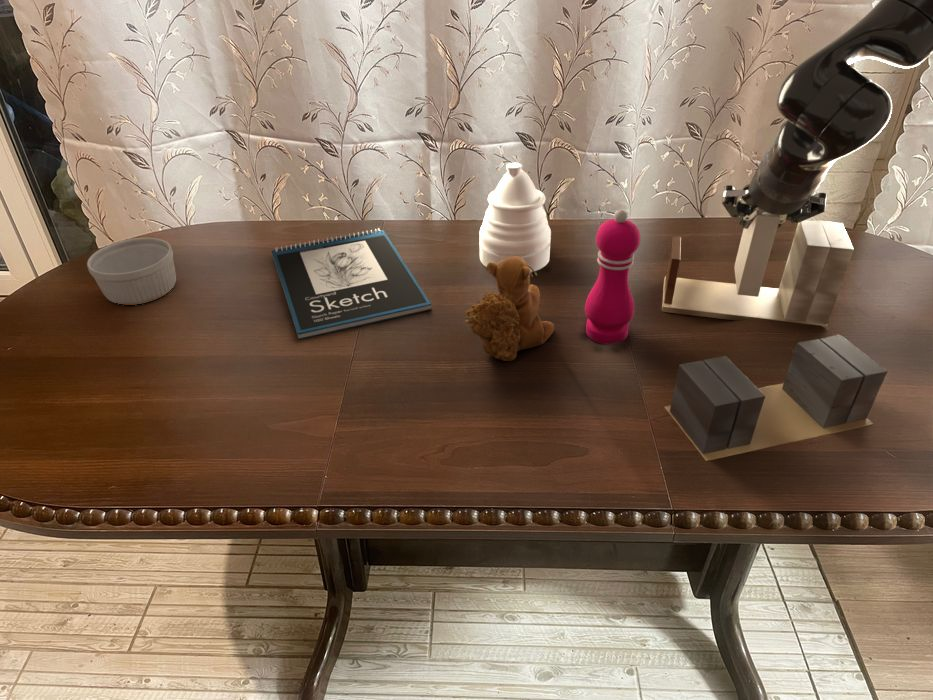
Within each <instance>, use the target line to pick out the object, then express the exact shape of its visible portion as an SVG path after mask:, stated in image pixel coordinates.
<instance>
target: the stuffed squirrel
mask: <svg viewBox="0 0 933 700" xmlns="http://www.w3.org/2000/svg"><path fill="white" fill-rule="evenodd" d="M531 269H532V268H531V267H530V266H528V265H527V264H526V262H525V261H524V260H523V259H522V258H521V257H518V256H512V257H509V258H506V259H504V260H501V261H500V262H499V263H498V264H494V263H492V262H489V263H488V264H487V266H486V270H487V271H488V272H489V273H490V274H491V275H492V276H493V277H494V278H495V280H496V288H497V293H494V292H492V293H486V294H484V295H483V296H484V297H481V300H478V301H477V303H475V304H472V305H471V307H470V308H469V309H468V310H466V311H464V313H465V314H464V315H465V316H466V317H465V319H467V320H464V323H466V324H468V325H469V327H470V330H471V331H472V333H473V334H475V335H477V336H478V337H479V338H480V340H482V348H483V351H484V353H485V354H486V355H487V356H489V357H492V358H494V359H496V360H501V361H502V362H506V361H507V362H512V361H514V360H515V359H516V358H517V356H518V354H517V353H518V352H519V351H522V350H527V349H532V348H535V347H538V346H541V345H543V344H545V342H546V341H547V340H548V339H550V337H551V336H552V334H553V333H554V330H555V324H554V323H553V322H551V321H548V320H545V321H542V320H541V318H540V315H538V312H539V304H540V297H541V293H540V290H539V287H538V286H537V285H535V284H531V278H533V277H534V275H535V276H538V274H537V271H534V270H533V269H532V270H533V272H531ZM533 273H534V275H533Z"/></svg>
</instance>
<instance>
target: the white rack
mask: <svg viewBox="0 0 933 700" xmlns="http://www.w3.org/2000/svg"><path fill="white" fill-rule="evenodd" d="M681 241H682V236H677V235H676V236H675V235H673V236H672V240H671V247H670V252H669V257H668V263H667V269H666V274H665V276H664V278H663V283H662V285H663V287H662V299H661V300H662V301H661V312H662V313H670V314H678V315H687V316H695V317H704V318H711V319H719V320H728V321H735V322H739V321H744V320H751V319H763V320H770V321H778V322H779V321H780V322H787V323H788V322H789V323H796V324H803V325H811V326H812V325H814V326H821V327H823V328H824V329H825V330H827V329H828V328H829V327H828V323H829V320H830V318H831V315H832V312H833V310H834V306H835V304H836V301H837V298H838V295H839V292H840V290H841V287H842V284H843V281H844V279H845V276H846V274H847V270H848V268H849V264H850V262H851V259H852V256H853V254H854V251H855V249H854V246H853V244H852V242H851V239H850V237H849V235H848V232H847V231H846V229H845V226H844V223H843V222H839V221H827V220H815V219H806V220H804V221H802V222H799V223H797V226H796V229H795V232H794V236H793V239H792V243H791V246H790V250H789V253H788V257H787V260H786V263H785V266H784V269H783V272H782V273H783V274H782V277H781V280H780V283H779V286H778V288H777V287H774V288H773V287H766V286H761V288H760V292H759V296H758V297H755V296H746V295H738V294H737V287H736V283H731V282H730V283H729V282H721V281H720V282H719V281H713V280H712V281H711V280H702V279H693V278H685V277H678V273H679V267H680V263H681V251H682V250H681V248H682V247H681V245H682V242H681Z"/></svg>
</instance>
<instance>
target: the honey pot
mask: <svg viewBox="0 0 933 700" xmlns="http://www.w3.org/2000/svg"><path fill="white" fill-rule="evenodd" d="M505 168H506V173H505V174H504V175H503V176H502V178H501V179H500V181H499V182H498V184H497V186H496V188H495V189H494V190H492V191H491V192H490V193H489V194H488V197H487V202H488V204H489V205H488V207H487V209H486V210H485V213H484V218H483V221H482V225H481V226H480V229H479V241H478V243H479V248H478V249H479V260H480V263H481V264H482V265H483V266H484V267H486V266H487V264H488V263H489V262H492V263H494V264H498V263H499V262H500V261H501V260H504V259H506V258H509V257H512V256H518V257H521V258H522V259H523V260H524V261H525V262H526V264H527V265H528V266H530V267H531V268H532V269H533V270H534V271H535V272H538V271H539V270H541V269H543V268H544V267H546V266H547V265H548V264H549V262H550V257H551V239H552V237H551V236H552V231H551V228H550V225H549V221H548V219H547V213H546V211H545V209H544V207H543V205H544V204H545V203H546V199H547V198H546V196H545V193H544V192H542V191H541V190H539V189H537V188H536V186H535V184H534V182H533V180H532V178H531V177H530V176H529V175H528V173H527V172H526V171H525V170H523V169H522V168H523V164H521V163H520V162H515V161H514V162H507V163H506V164H505ZM486 268H487V267H486ZM532 269H531V272H532V273H534V272H533V270H532Z"/></svg>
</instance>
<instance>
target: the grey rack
mask: <svg viewBox="0 0 933 700" xmlns="http://www.w3.org/2000/svg"><path fill="white" fill-rule="evenodd" d="M795 345H796V346H795V349H794V351H793V355H792V357H791V361H790V364H789V367H788V369H787V372H786V375H785V378H784V381H783V383H777V384H773V385H767V386H762V387H757V386H756V385H755V384H754V383H753V382H752V381H751V380H750V379H749V377H747V376H746V375H745V374H744V373H743V372H742V371H741V370H740V368H738V366H737V365H736V364H734V362H733V361H731V360H730V358H728V356H726V355H724V356H718V357H712V358H707V359H704V360H696V361H692V362H686V363H681V364H679V366H678V370H677V374H676V379H675V384H674V389H673V394H672V398H671V404H670V405H667V406H664V409H665V411H667V413H668V414H669V416H670V417H671V418H672V419H673V420H674V422H675V423H676V424H677V425H678V427H679V428H680V429H681V431H682V432H683V433H684V435H685V436H686V437H687V438H688V440H689V442H691V444H692V445H693V447H694V448H695V449H696V450H697V451H698V453H699V454H700V456H702V458H703V459H704V460H705V461H706V462H708V461H713V460H717V459H723V458H727V457H730V456H735V455H740V454H745V453H748V452H754V451H757V450H759V451H760V450H764V449H768V448H772V447H776V446H780V445H785V444H790V443H791V444H792V443H795V442H799V441H800V442H801V441H804V440H808V439H813V438H817V437H823V436H826V435H832V434H835V433H840V432H845V431H850V430H853V429H859V428H862V427H863V428H864V427H869V426H872V425H874V423H873V422H872V421H871V420H870V419H869V418H868V416H869V414H870V412H871V409H872V407H873V406H874V404H875V401H876V398H877V396H878V394H879V392H880V389H881V387H882V385H883V383H884V381H885V378H886V376H887V374H888V371H887V369H885V368H884V367H883V366H881V365H880V364H879V363H877V362H876V361H875V360H873V359H872V358H871V357H870V356H868V355H867V354H866V353H865V352H863V351H862V350H860V348H858V347H856V346H855V345H854V344H853V343H852V342H851V341H849V340H848V339H846V338H845V337H844V336H843V335H841V334H837V335H831V336H826V337H821V338H820V339H818V338H815V339H810V340H805V341H799V342H796V344H795Z"/></svg>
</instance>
